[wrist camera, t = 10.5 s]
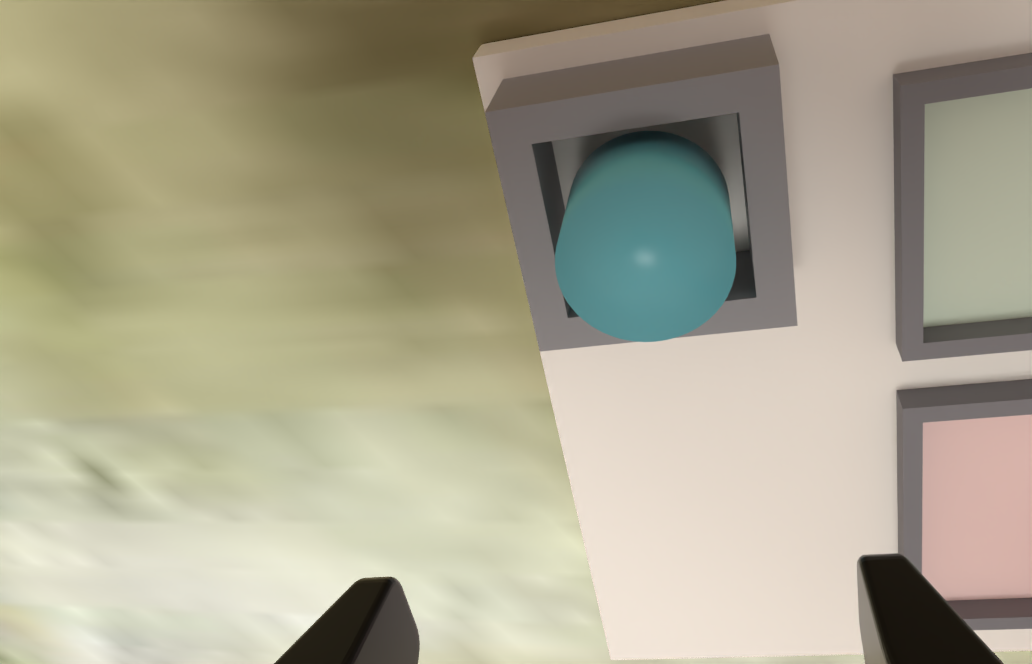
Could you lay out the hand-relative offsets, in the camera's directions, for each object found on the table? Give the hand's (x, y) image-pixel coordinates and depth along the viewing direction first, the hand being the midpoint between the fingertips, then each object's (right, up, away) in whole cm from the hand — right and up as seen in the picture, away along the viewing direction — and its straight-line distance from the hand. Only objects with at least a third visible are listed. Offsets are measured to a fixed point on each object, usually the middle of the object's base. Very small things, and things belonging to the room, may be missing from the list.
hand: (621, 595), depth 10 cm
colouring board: (+8, +2, +12) cm, 14 cm away
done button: (+1, +5, +8) cm, 10 cm away
